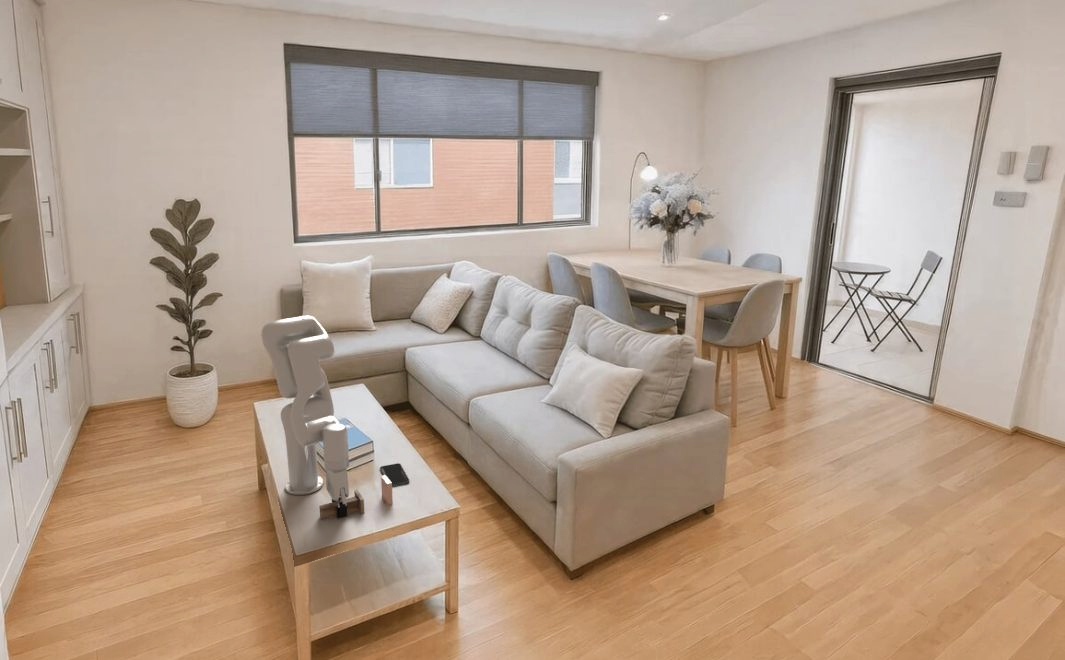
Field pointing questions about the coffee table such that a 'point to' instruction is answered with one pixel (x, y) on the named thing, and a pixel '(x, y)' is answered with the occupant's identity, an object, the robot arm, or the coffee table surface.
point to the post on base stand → (352, 506)
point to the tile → (386, 490)
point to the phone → (395, 474)
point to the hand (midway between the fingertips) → (339, 512)
